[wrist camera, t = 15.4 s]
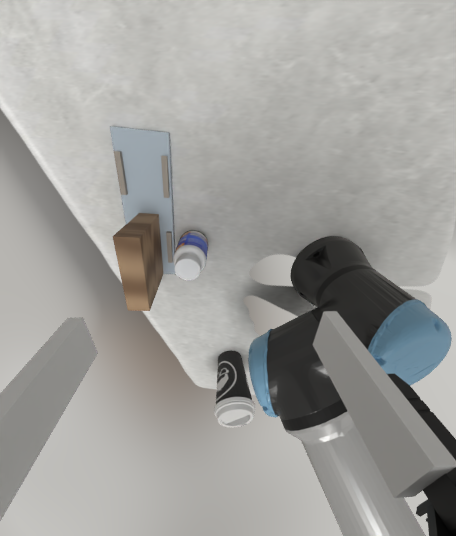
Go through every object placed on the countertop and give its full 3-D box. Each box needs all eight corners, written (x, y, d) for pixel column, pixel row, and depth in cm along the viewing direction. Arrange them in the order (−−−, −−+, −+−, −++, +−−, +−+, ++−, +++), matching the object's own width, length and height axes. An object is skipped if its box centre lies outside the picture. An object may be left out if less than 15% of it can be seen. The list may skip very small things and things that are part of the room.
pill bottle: (183, 226, 37) (173, 249, 29) (211, 235, 38) (209, 260, 30) (176, 251, 40) (165, 278, 31) (203, 259, 41) (199, 288, 33)
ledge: (169, 133, 30) (167, 132, 29) (175, 271, 42) (174, 276, 40) (112, 126, 29) (107, 125, 28) (135, 270, 41) (132, 274, 39)
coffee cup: (216, 371, 60) (218, 432, 47) (209, 350, 55) (209, 412, 42) (248, 365, 60) (259, 424, 47) (244, 344, 55) (254, 403, 42)
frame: (138, 212, 35) (112, 236, 25) (158, 214, 35) (139, 237, 25) (146, 273, 40) (127, 310, 31) (163, 273, 41) (149, 310, 31)
